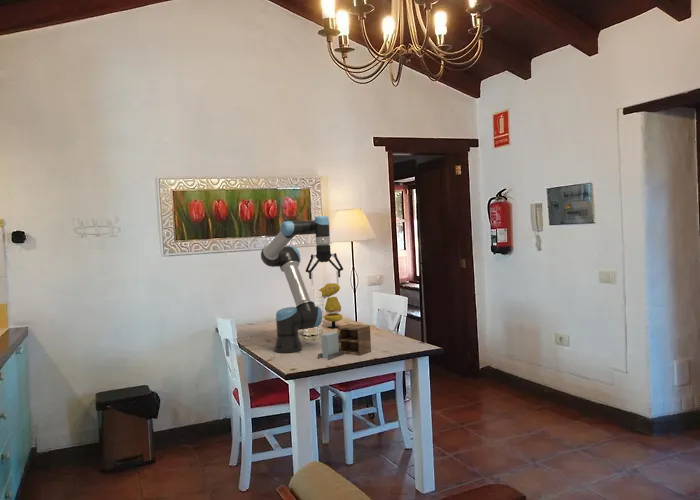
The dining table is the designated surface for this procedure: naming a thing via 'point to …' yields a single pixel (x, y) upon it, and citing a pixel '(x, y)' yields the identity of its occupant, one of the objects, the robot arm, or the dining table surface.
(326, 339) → the grey rectangular block
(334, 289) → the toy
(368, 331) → the cabinet
